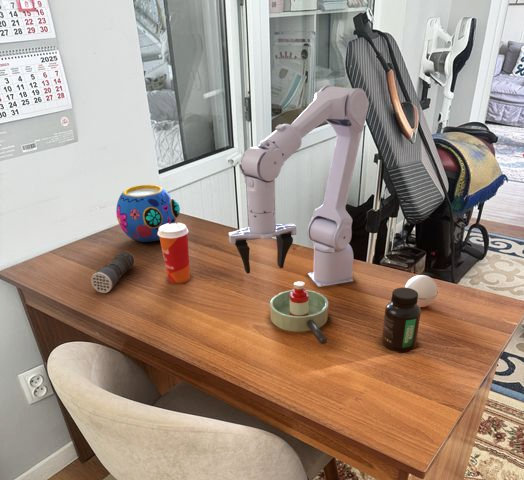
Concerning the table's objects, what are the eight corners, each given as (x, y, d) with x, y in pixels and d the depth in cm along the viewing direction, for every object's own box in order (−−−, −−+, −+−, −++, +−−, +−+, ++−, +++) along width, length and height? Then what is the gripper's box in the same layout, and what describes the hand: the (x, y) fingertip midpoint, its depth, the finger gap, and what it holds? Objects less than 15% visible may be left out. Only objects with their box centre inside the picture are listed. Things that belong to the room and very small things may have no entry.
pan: (315, 300, 123) (315, 285, 121) (336, 327, 113) (337, 311, 111) (263, 310, 120) (263, 294, 118) (281, 337, 110) (280, 321, 108)
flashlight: (119, 266, 143) (115, 248, 140) (137, 267, 142) (134, 249, 139) (93, 292, 131) (88, 272, 128) (113, 293, 130) (108, 274, 127)
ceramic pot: (152, 254, 150) (144, 203, 141) (109, 243, 158) (99, 194, 149) (191, 234, 161) (185, 186, 153) (149, 225, 170) (142, 178, 161)
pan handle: (305, 325, 110) (305, 319, 110) (312, 324, 111) (312, 317, 110) (320, 346, 104) (320, 339, 103) (328, 345, 104) (328, 338, 103)
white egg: (395, 305, 120) (399, 276, 116) (414, 294, 124) (418, 266, 120) (433, 321, 114) (438, 291, 110) (451, 309, 118) (457, 280, 114)
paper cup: (165, 273, 139) (158, 222, 131) (194, 271, 139) (188, 220, 131) (163, 286, 132) (155, 234, 124) (193, 284, 133) (187, 232, 125)
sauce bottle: (304, 310, 118) (305, 278, 114) (311, 319, 115) (311, 286, 110) (287, 313, 118) (287, 281, 113) (293, 322, 114) (293, 289, 110)
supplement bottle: (414, 356, 103) (423, 303, 96) (379, 351, 104) (385, 299, 98) (416, 338, 108) (424, 286, 101) (382, 334, 110) (388, 283, 103)
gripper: (232, 219, 103) (236, 281, 110) (301, 210, 106) (300, 271, 113) (224, 208, 108) (229, 268, 116) (290, 200, 111) (290, 258, 119)
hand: (264, 269), depth 115 cm, fingers open, 7 cm apart
